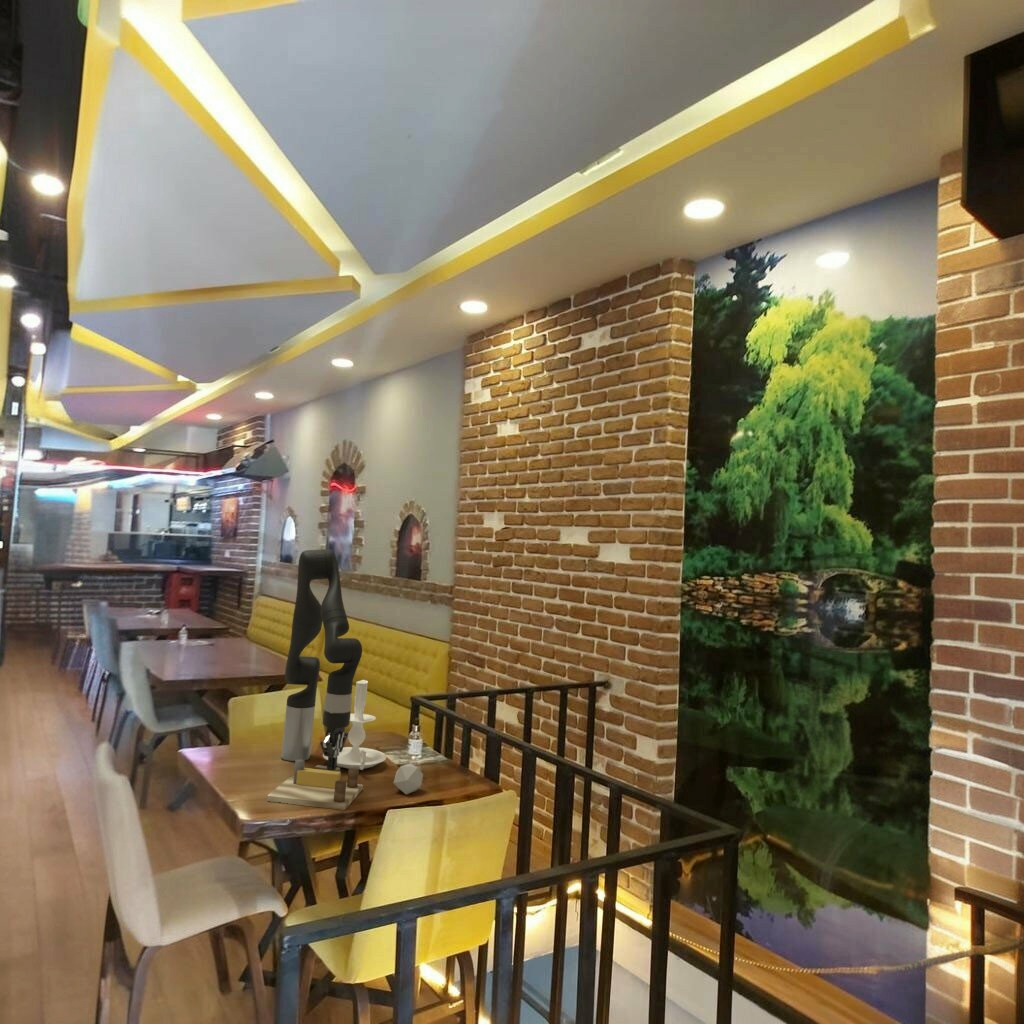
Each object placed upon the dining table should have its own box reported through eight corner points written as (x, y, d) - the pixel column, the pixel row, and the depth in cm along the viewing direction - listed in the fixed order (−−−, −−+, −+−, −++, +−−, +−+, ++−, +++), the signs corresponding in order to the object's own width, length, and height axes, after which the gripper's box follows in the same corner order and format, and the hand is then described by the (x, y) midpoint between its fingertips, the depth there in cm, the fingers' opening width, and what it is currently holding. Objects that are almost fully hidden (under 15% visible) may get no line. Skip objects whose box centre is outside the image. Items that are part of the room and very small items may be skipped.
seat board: (290, 781, 226) (292, 759, 226) (362, 789, 224) (364, 767, 224) (266, 801, 208) (269, 777, 208) (344, 810, 206) (347, 785, 206)
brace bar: (291, 783, 219) (293, 761, 219) (295, 780, 222) (297, 758, 222) (336, 788, 218) (338, 766, 218) (339, 785, 221) (341, 763, 221)
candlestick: (329, 780, 230) (338, 687, 232) (317, 757, 253) (325, 673, 254) (395, 778, 238) (403, 688, 239) (377, 755, 261) (385, 674, 262)
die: (425, 797, 224) (430, 765, 230) (407, 787, 219) (412, 755, 225) (404, 801, 228) (409, 770, 234) (386, 791, 222) (391, 759, 229)
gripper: (336, 702, 222) (330, 761, 222) (314, 711, 209) (308, 774, 209) (359, 705, 221) (353, 765, 220) (339, 715, 208) (332, 778, 207)
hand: (331, 769), depth 214 cm, fingers closed
